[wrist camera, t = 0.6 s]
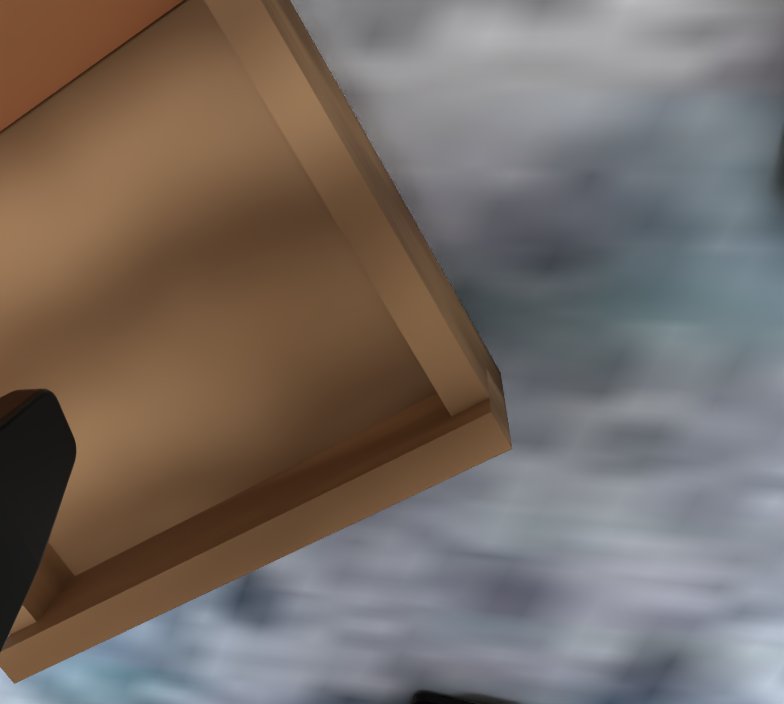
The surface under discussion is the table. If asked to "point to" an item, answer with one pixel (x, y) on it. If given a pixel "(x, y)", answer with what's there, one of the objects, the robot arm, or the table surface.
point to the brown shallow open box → (219, 321)
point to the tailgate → (61, 43)
